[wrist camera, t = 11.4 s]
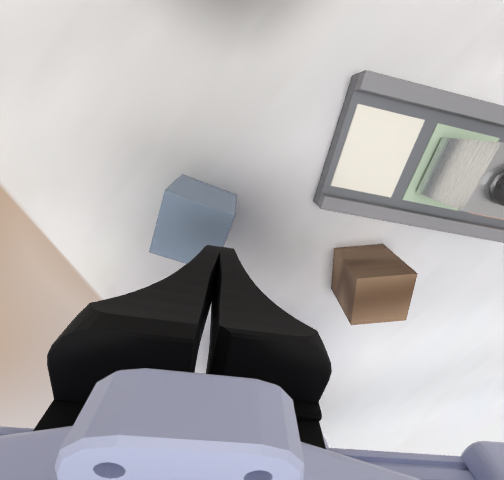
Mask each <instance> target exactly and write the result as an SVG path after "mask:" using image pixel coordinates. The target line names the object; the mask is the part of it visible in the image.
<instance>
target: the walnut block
mask: <svg viewBox="0 0 504 480" xmlns="http://www.w3.org/2000/svg"><path fill="white" fill-rule="evenodd" d="M416 277H417V273H416V272H415V271H414V270H413V269H412V268H410V267H409V266H408V265H407V264H406V263H405V262H403V261H402V260H401V259H400V258H399V257H398V256H396V255H395V254H394V253H393V252H392V251H391V250H389V249H388V248H387V247H386V246H385V245H384V244H378V245H366V246H354V247H342V248H334V258H333V271H332V284H331V289H332V291H333V293H334V295H335V296H336V298H337V300H338V302H339V304H340V306H341V307H342V309H343V311H344V313H345V315H346V317H347V319H348V320H349V322H350V324H351V325H357V324H368V323H380V322H391V321H403V320H406V318H407V314H408V310H409V306H410V302H411V298H412V294H413V290H414V285H415V281H416Z"/></svg>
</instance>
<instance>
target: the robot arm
mask: <svg viewBox="0 0 504 480" xmlns="http://www.w3.org/2000/svg"><path fill="white" fill-rule="evenodd" d="M211 301H212V304H211ZM210 305H211V327H210V346H209V355H208V362H207V369H206V374H201V373H194V371H195V366H196V360H197V354H198V349H199V345H200V341H201V337H202V333H203V330H204V326H205V323H206V319H207V316H208V312H209V309H210ZM47 366H48V371H49V376H50V381H51V386H52V391H53V396H54V401H53V402H52V403H51V405H50V406H49V408H48V409H47V411H46V412H45V414H44V415H43V417H42V418H41V420H40V421H39V423H38V424H37V426H36V428H35V429H29V428H14V427H13V428H12V427H0V480H504V443H503V442H489V441H479V442H476V443H473V444H471V445H470V446H468V447H467V448H466V449H465V450H464V452H463V453H462V455H461V456H446V455H430V454H415V453H399V452H384V451H368V450H353V449H338V448H329V447H328V445H327V442H326V440H325V438H324V437H323V435H322V431H321V428H320V424H319V421H320V420H321V418H322V414H321V410H320V406H319V403H318V402H319V400H320V398H321V396H322V394H323V392H324V390H325V387H326V385H327V383H328V381H329V379H330V375H331V372H332V371H331V362H330V359H329V357H328V354H327V351H326V349H325V346H324V344H323V342H322V340H321V338H320V336H319V334H318V332H317V330H315V329H313V328H311V327H309V326H308V325H306V324H304V323H302V322H301V321H299V320H297V319H295V318H294V317H292V316H291V315H289V314H288V313H286V312H285V311H284V310H282V309H281V308H280V307H278V306H277V305H276V304H275V303H274V302H272V301H271V300H270V299H269V298H268V297H267V296H266V295H265V294H264V293H263V292H262V291H261V290H260V289H259V288H258V287H257V286H256V285H255V284H254V282H253V281H252V280H251V278H250V277H249V276H248V274H247V273H246V271H245V269H244V268H243V266H242V264H241V262H240V261H239V259H238V257H237V254H236V252H235V250H234V249H231V248H225V247H219V246H212V245H206V246H205V247H204V248H203V249H202V250H201V251H200V252H199V253H198V254H197V255H196V256H195V257H194V258H193V259H192V260H191V261H190V262H188V263H187V264H186V265H185V266H183V267H182V268H181V269H179V270H178V271H177V272H175V273H173V274H172V275H170V276H169V277H167V278H165V279H163V280H161V281H159V282H157V283H154V284H152V285H150V286H148V287H146V288H143V289H140V290H137V291H135V292H131V293H128V294H125V295H122V296H118V297H114V298H110V299H106V300H101V301H98V302H92V303H89V305H87V307H86V308H85V309H83V310H82V311H81V312H80V313H79V314H78V315H77V317H75V319H74V320H73V321H72V322H71V323H70V324H69V325H68V327H67V328H66V329H65V330H64V332H63V333H62V334H61V335H60V336H59V337H58V339H57V340H56V341H55V342H54V343H53V345H52V346H51V348H50V350H49V353H48V355H47Z"/></svg>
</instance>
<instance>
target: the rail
mask: <svg viewBox="0 0 504 480" xmlns="http://www.w3.org/2000/svg"><path fill="white" fill-rule="evenodd" d="M442 137H444V138H456V139H468V140H480V141H492V142H503V143H504V106H502V105H498V104H494V103H490V102H486V101H483V100H479V99H475V98H471V97H467V96H463V95H459V94H456V93H452V92H448V91H444V90H440V89H436V88H433V87H429V86H425V85H421V84H417V83H413V82H410V81H406V80H402V79H398V78H394V77H390V76H387V75H383V74H379V73H375V72H371V71H367V70H365V71H363V72H360V73H358V74H355V75H353V76H352V79H351V82H350V85H349V88H348V92H347V95H346V98H345V101H344V104H343V108H342V111H341V114H340V117H339V121H338V124H337V127H336V130H335V133H334V137H333V140H332V143H331V146H330V149H329V153H328V156H327V159H326V162H325V166H324V169H323V172H322V175H321V178H320V182H319V185H318V188H317V191H316V195H315V198H314V202H315V203H316V204H317V205H318V206H319V208H320V209H324V210H329V211H335V212H340V213H346V214H351V215H356V216H362V217H367V218H373V219H378V220H383V221H389V222H394V223H400V224H405V225H410V226H416V227H421V228H427V229H432V230H437V231H443V232H448V233H454V234H459V235H465V236H470V237H475V238H481V239H486V240H492V241H497V242H502V243H504V219H500V218H495V217H490V216H485V215H480V214H475V213H470V212H465V211H461V210H458V209H456V208H454V207H451V206H449V205H446V204H444V203H441V202H439V201H436V200H434V199H432V198H429V197H427V196H424V195H422V194H419V193H417V192H416V191H417V189H418V187H419V185H420V183H421V181H422V179H423V177H424V174H425V172H426V170H427V168H428V166H429V164H430V162H431V160H432V158H433V156H434V154H435V151H436V149H437V147H438V145H439V143H440V141H441V139H442Z"/></svg>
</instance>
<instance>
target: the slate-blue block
mask: <svg viewBox="0 0 504 480" xmlns="http://www.w3.org/2000/svg"><path fill="white" fill-rule="evenodd" d="M235 210H236V195H235V194H233V193H230V192H227V191H225V190H222V189H219V188H217V187H214V186H211V185H209V184H206V183H203V182H201V181H198V180H195V179H193V178H190V177H187V176H185V175H181V176H180V177H179V178H178V179H177V180H176V181H175V182H174V183H172V184H171V185H170V186H169V187H168V188H167V189H166V190H165V192H164V196H163V200H162V204H161V208H160V212H159V216H158V219H157V223H156V227H155V231H154V235H153V239H152V243H151V246H150V250H149V252H150V253H154V254H157V255H160V256H163V257H167V258H170V259H173V260H176V261H180V262H183V263H186V264H187V263H188V262H190V261H191V260H192V259H193V258H194V257H195V256H196V255H197V254H198V253H199V252H200V251H201V250H202V249H203V248H204V247H205V246H206V245H212V246H219V247H223V245H224V243H225V240H226V238H227V235H228V233H229V230H230V227H231V225H232V222H233V220H234V217H235Z"/></svg>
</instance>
